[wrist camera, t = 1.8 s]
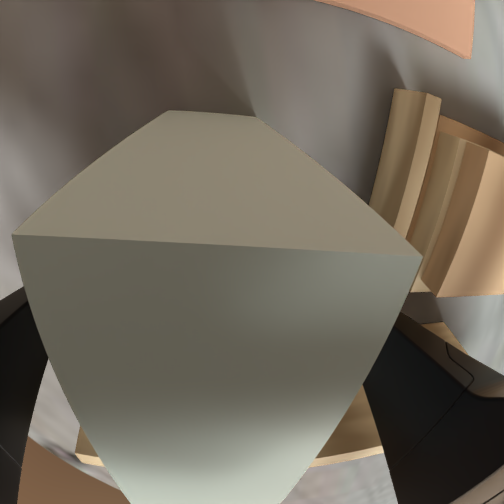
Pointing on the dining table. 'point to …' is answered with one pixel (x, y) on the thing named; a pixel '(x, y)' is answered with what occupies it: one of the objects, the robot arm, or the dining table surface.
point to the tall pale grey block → (210, 306)
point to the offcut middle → (437, 200)
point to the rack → (399, 217)
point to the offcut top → (471, 231)
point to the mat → (423, 19)
